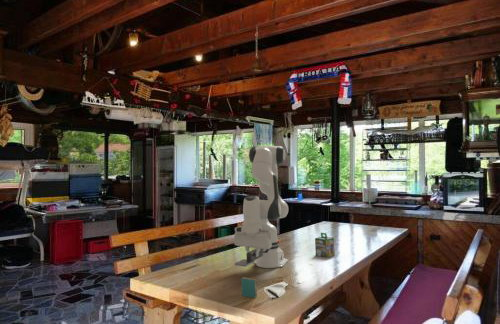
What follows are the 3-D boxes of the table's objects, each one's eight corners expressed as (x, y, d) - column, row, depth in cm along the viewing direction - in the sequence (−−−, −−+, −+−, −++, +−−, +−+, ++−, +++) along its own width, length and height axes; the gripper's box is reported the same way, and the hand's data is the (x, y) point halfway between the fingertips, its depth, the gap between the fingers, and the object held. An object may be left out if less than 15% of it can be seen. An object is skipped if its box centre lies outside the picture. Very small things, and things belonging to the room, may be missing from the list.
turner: (255, 254, 185) (255, 247, 185) (265, 256, 181) (265, 248, 181) (234, 265, 167) (234, 256, 167) (245, 266, 164) (245, 258, 164)
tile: (243, 294, 164) (243, 277, 164) (256, 296, 161) (256, 279, 161) (241, 295, 163) (241, 278, 163) (255, 298, 159) (254, 280, 159)
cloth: (275, 281, 184) (275, 277, 184) (300, 285, 177) (300, 280, 177) (250, 298, 161) (250, 293, 161) (277, 303, 154) (277, 298, 154)
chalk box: (335, 255, 232) (334, 232, 232) (326, 257, 226) (325, 234, 226) (323, 252, 239) (323, 230, 239) (315, 255, 233) (314, 232, 233)
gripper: (273, 228, 174) (274, 256, 174) (238, 225, 184) (239, 252, 184) (267, 231, 168) (268, 260, 168) (232, 228, 179) (232, 255, 179)
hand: (252, 256), depth 176 cm, fingers closed on turner, 2 cm apart
